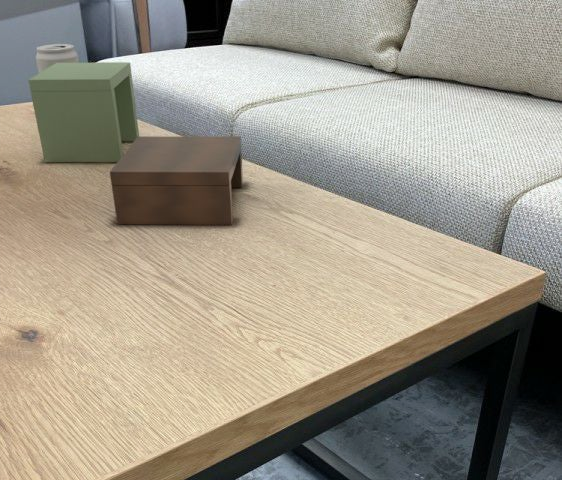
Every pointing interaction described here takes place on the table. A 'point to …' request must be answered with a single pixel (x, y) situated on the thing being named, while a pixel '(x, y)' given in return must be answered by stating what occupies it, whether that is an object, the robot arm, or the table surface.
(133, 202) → the low shelf
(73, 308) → the table surface
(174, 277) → the table surface
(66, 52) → the beverage can
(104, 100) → the green open cubby
